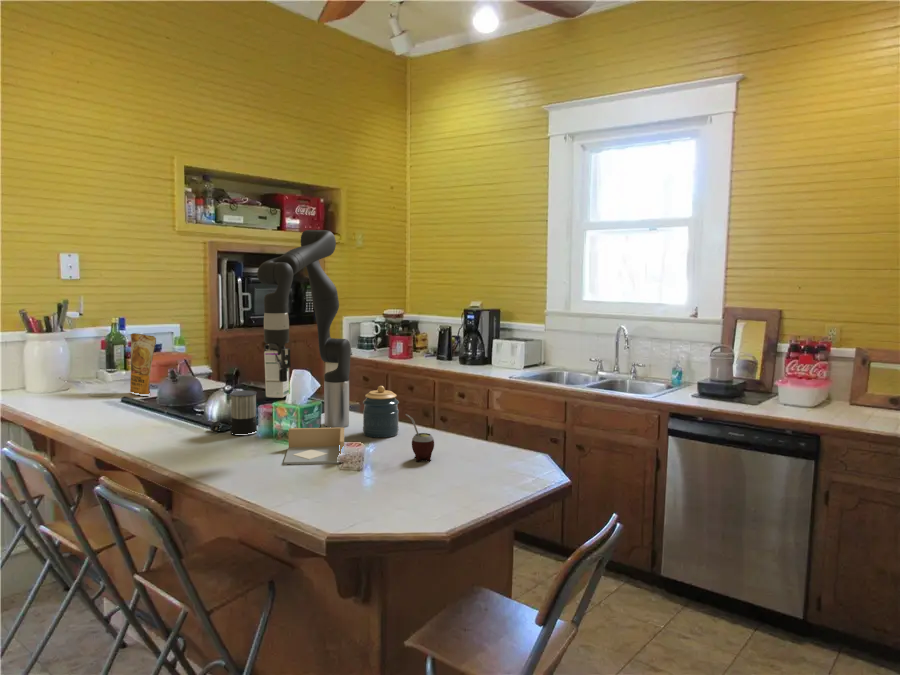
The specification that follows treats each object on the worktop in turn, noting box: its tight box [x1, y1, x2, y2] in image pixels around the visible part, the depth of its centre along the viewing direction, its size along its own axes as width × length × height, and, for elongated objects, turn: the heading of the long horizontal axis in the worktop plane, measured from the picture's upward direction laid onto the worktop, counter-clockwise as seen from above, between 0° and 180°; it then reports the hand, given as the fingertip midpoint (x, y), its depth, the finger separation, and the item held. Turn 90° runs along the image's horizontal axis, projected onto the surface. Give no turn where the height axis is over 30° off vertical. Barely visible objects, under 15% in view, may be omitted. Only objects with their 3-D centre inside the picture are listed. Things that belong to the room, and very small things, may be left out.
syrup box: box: [263, 350, 291, 399], centre depth 199 cm, size 6×6×14 cm
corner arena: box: [283, 427, 345, 466], centre depth 204 cm, size 18×18×7 cm
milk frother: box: [210, 390, 258, 434], centre depth 231 cm, size 14×16×15 cm
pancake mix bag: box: [129, 332, 157, 394], centre depth 296 cm, size 7×19×28 cm, turn 51°
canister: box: [362, 385, 400, 438], centre depth 233 cm, size 13×13×18 cm
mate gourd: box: [404, 413, 435, 463], centre depth 201 cm, size 8×8×15 cm
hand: (277, 379), depth 200 cm, fingers closed on syrup box, 8 cm apart
